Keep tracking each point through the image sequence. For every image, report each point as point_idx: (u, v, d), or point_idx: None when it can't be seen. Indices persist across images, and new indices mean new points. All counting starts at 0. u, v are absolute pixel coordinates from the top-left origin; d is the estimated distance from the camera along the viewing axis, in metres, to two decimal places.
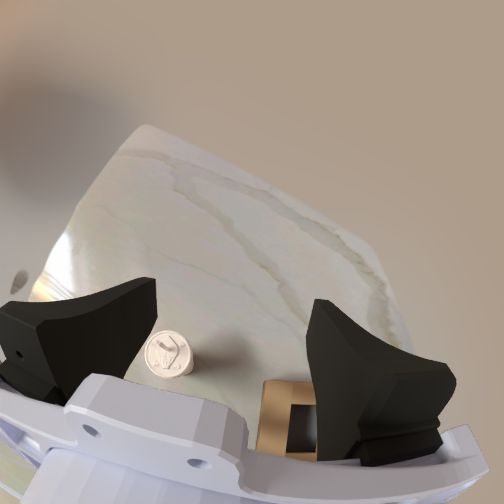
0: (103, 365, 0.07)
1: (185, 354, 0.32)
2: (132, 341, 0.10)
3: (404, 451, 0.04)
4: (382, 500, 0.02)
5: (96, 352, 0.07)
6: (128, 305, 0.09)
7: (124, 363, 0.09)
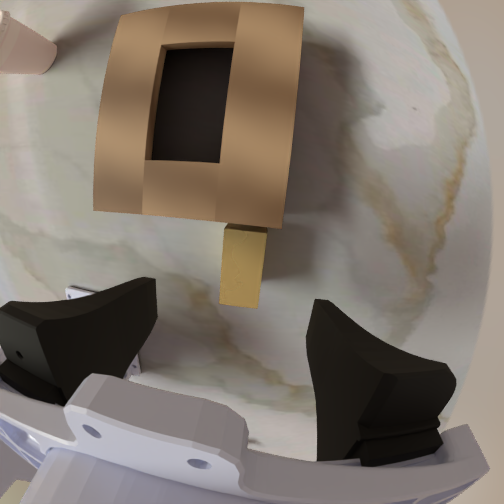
0: (103, 365, 0.07)
1: None
2: (132, 341, 0.10)
3: (404, 451, 0.04)
4: (382, 500, 0.02)
5: (96, 352, 0.07)
6: (128, 305, 0.09)
7: (124, 363, 0.09)
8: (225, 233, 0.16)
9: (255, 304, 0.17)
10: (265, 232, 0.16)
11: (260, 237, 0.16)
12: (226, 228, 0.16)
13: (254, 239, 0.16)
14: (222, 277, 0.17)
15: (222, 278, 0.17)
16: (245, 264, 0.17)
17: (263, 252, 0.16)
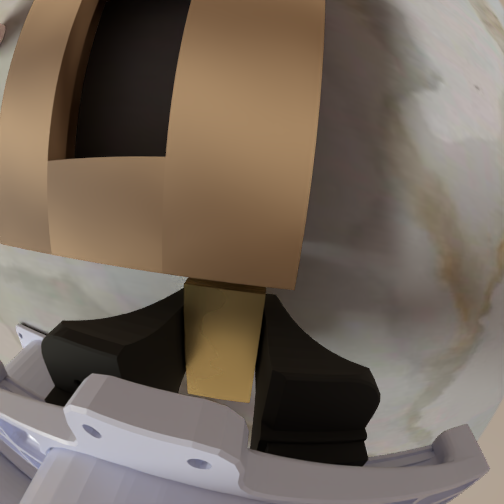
0: (166, 382, 0.07)
1: None
2: None
3: None
4: (382, 500, 0.02)
5: (162, 370, 0.07)
6: None
7: (179, 377, 0.09)
8: (186, 292, 0.08)
9: (246, 398, 0.10)
10: (262, 291, 0.08)
11: (252, 302, 0.08)
12: (188, 283, 0.08)
13: (241, 304, 0.08)
14: (188, 360, 0.09)
15: (188, 362, 0.09)
16: (225, 344, 0.09)
17: (258, 326, 0.09)
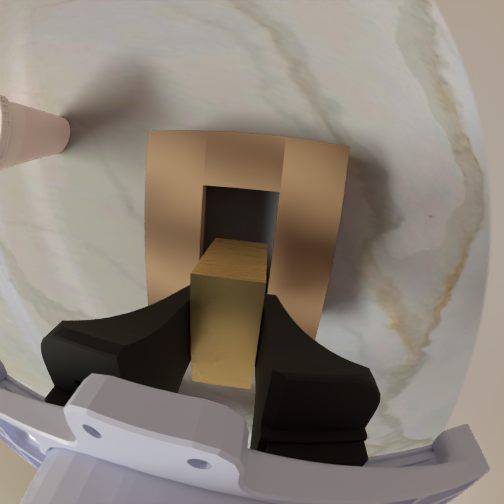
0: (166, 382, 0.07)
1: None
2: (186, 353, 0.10)
3: None
4: (382, 500, 0.02)
5: (162, 370, 0.07)
6: (185, 316, 0.09)
7: (179, 377, 0.09)
8: (192, 281, 0.09)
9: (247, 384, 0.10)
10: (263, 279, 0.09)
11: (254, 289, 0.09)
12: (194, 272, 0.09)
13: (243, 292, 0.09)
14: (193, 347, 0.10)
15: (193, 349, 0.10)
16: (228, 331, 0.10)
17: (259, 313, 0.09)
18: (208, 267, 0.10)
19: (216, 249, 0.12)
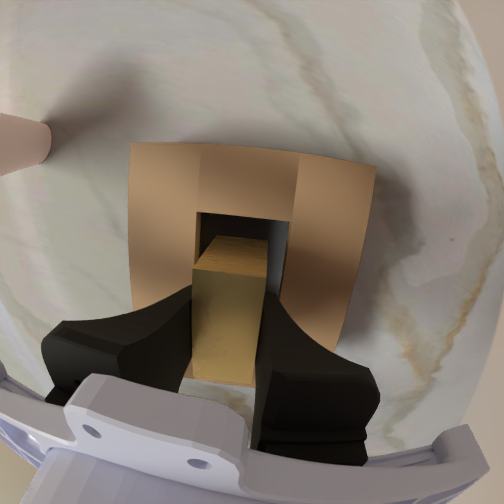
0: (166, 382, 0.07)
1: None
2: (186, 353, 0.10)
3: None
4: (382, 500, 0.02)
5: (162, 370, 0.07)
6: (185, 316, 0.09)
7: (179, 377, 0.09)
8: (194, 276, 0.09)
9: (248, 379, 0.11)
10: (263, 274, 0.09)
11: (254, 284, 0.09)
12: (196, 267, 0.09)
13: (244, 287, 0.09)
14: (194, 342, 0.10)
15: (194, 344, 0.10)
16: (229, 325, 0.10)
17: (260, 308, 0.09)
18: (209, 262, 0.10)
19: (217, 246, 0.12)
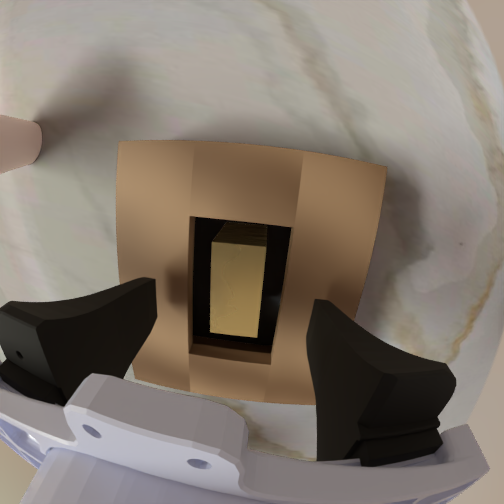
0: (103, 365, 0.07)
1: None
2: (132, 341, 0.10)
3: (404, 451, 0.04)
4: (382, 500, 0.02)
5: (96, 352, 0.07)
6: (128, 305, 0.09)
7: (124, 363, 0.09)
8: (213, 248, 0.13)
9: (254, 332, 0.14)
10: (264, 245, 0.13)
11: (257, 252, 0.13)
12: (214, 241, 0.13)
13: (250, 254, 0.13)
14: (212, 301, 0.14)
15: (212, 303, 0.14)
16: (239, 286, 0.13)
17: (262, 270, 0.13)
18: (224, 238, 0.13)
19: (228, 228, 0.15)
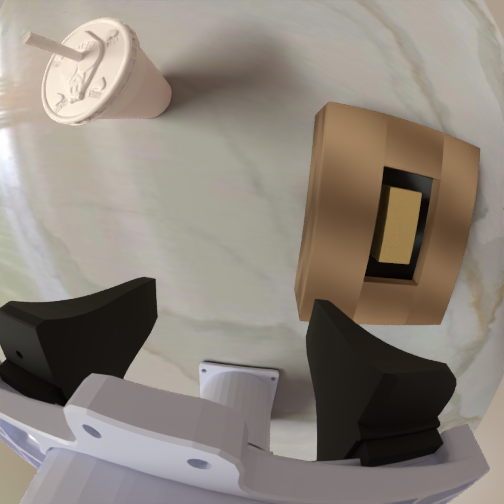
0: (103, 365, 0.07)
1: (117, 51, 0.09)
2: (132, 341, 0.10)
3: (404, 451, 0.04)
4: (382, 500, 0.02)
5: (96, 352, 0.07)
6: (128, 305, 0.09)
7: (123, 363, 0.09)
8: (391, 191, 0.15)
9: (408, 260, 0.17)
10: (419, 192, 0.15)
11: (417, 196, 0.15)
12: (391, 187, 0.15)
13: (412, 198, 0.15)
14: (385, 234, 0.16)
15: (385, 235, 0.16)
16: (404, 221, 0.16)
17: (418, 210, 0.16)
18: None
19: None
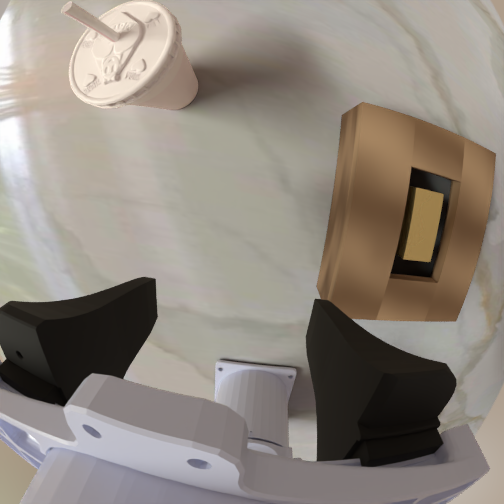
0: (103, 365, 0.07)
1: (159, 34, 0.09)
2: (132, 341, 0.10)
3: (405, 452, 0.04)
4: (382, 500, 0.02)
5: (96, 352, 0.07)
6: (128, 305, 0.09)
7: (123, 363, 0.09)
8: (417, 191, 0.15)
9: (429, 258, 0.17)
10: None
11: (439, 197, 0.15)
12: (416, 187, 0.15)
13: (435, 198, 0.15)
14: (410, 232, 0.16)
15: (410, 233, 0.16)
16: (427, 220, 0.16)
17: (440, 210, 0.16)
18: None
19: None
